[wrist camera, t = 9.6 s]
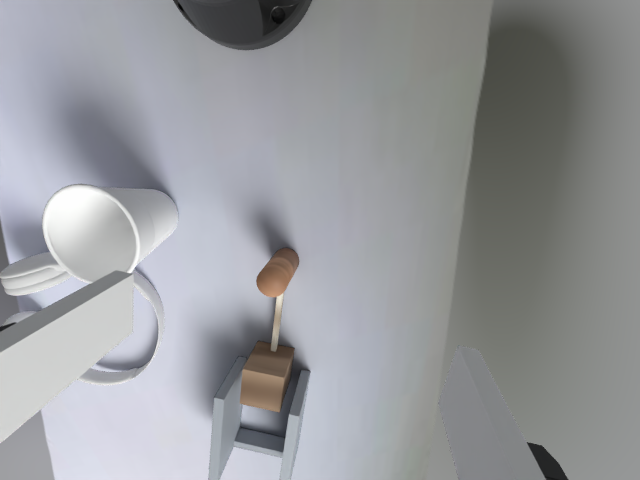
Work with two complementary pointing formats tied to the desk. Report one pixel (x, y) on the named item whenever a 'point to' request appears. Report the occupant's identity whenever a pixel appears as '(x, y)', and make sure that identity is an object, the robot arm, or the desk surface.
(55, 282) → the headphones
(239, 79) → the desk surface
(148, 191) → the cup
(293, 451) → the lane
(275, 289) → the tethered block
